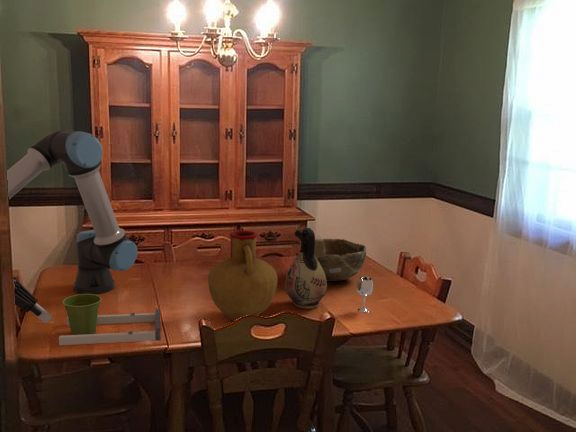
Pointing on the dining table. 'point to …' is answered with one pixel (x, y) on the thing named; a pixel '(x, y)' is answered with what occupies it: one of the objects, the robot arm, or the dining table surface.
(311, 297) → the ceramic jug
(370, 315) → the dining table surface
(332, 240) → the bowl
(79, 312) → the plant pot
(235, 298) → the vase
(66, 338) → the guide channel
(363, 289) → the wineglass
